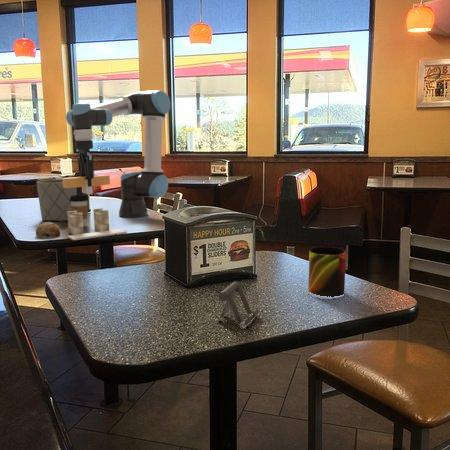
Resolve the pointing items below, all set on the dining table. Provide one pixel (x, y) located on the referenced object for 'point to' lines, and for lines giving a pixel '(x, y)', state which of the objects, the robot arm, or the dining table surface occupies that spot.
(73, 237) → the board
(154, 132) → the robot arm
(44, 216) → the planter
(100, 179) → the rail
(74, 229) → the post
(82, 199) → the coffee cup
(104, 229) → the post
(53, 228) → the bread roll
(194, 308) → the dining table surface
